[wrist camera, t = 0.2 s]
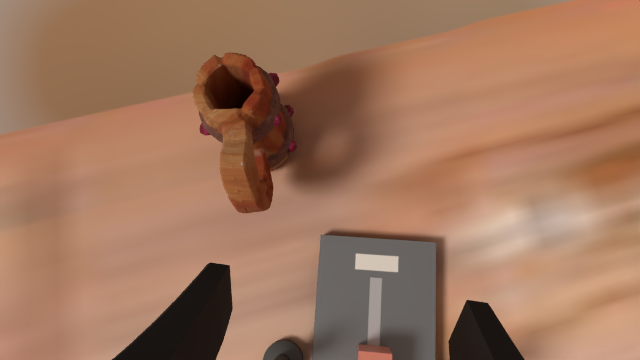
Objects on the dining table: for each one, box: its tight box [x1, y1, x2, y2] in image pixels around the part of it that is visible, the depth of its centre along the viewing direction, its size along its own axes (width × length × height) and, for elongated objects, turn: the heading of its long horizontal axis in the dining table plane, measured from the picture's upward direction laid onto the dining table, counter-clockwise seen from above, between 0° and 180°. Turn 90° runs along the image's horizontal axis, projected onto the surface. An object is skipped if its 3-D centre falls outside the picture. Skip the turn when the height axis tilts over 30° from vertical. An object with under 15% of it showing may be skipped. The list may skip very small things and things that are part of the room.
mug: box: [193, 53, 297, 213], centre depth 38 cm, size 15×8×15 cm, turn 7°
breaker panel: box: [312, 235, 436, 360], centre depth 40 cm, size 20×12×2 cm, turn 176°
